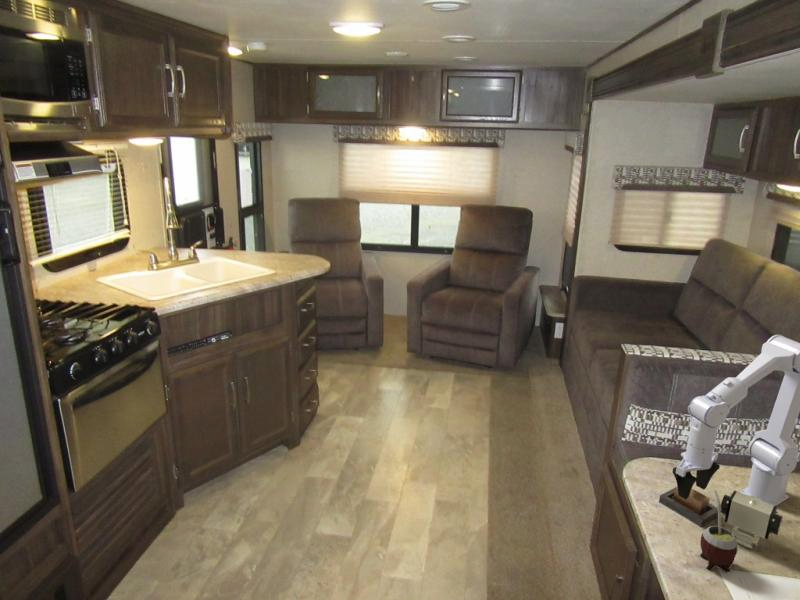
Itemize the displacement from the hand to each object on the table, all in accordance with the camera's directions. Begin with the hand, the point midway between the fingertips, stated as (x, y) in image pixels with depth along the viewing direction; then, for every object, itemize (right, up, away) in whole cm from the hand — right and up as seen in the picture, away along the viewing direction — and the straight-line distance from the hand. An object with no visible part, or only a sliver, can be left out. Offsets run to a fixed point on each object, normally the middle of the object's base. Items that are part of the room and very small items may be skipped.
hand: (691, 492), depth 144 cm
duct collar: (0, -5, +1) cm, 5 cm away
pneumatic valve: (+7, -9, -10) cm, 15 cm away
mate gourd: (-4, -10, -17) cm, 20 cm away
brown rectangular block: (0, -5, +1) cm, 5 cm away
